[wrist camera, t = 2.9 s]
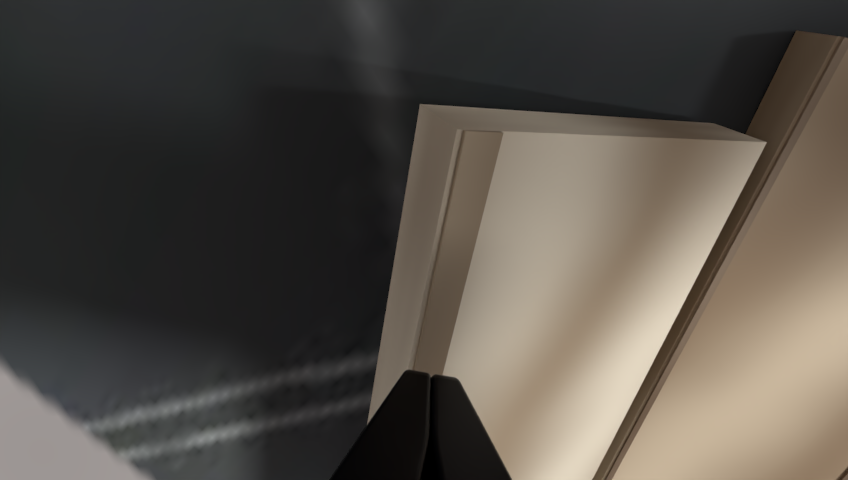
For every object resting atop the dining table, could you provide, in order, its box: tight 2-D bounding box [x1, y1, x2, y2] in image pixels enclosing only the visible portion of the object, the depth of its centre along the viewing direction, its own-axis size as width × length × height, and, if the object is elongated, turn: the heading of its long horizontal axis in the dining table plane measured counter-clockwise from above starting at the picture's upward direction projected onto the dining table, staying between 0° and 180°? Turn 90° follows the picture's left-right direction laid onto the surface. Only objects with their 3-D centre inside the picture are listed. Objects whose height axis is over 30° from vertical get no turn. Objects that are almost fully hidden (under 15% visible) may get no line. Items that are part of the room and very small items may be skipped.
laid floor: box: [592, 30, 848, 480], centre depth 14 cm, size 13×20×1 cm, turn 170°
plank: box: [367, 104, 767, 480], centre depth 12 cm, size 7×16×1 cm, turn 170°
